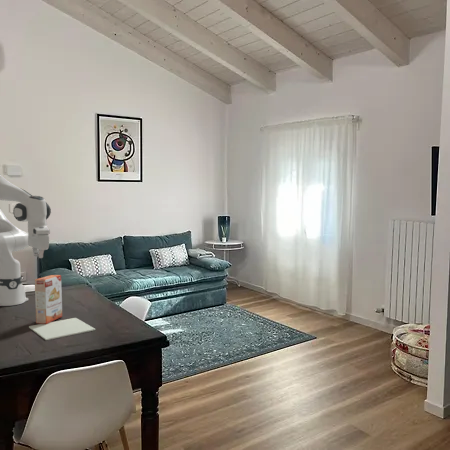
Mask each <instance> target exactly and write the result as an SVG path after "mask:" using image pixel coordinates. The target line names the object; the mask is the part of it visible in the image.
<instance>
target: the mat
mask: <svg viewBox="0 0 450 450" xmlns="http://www.w3.org/2000/svg"><path fill="white" fill-rule="evenodd" d="M28 328H29V329H30V330H31V331H33V332H34V333H35V334H36V335H38V336H39V337H41V338H42V339H43V340H45V341H50V340H51V341H52V340H55V339H59V338H65V337H69V336H74V335H79V334H83V333H88V332H89V333H90V332H93V331H96V328H94V327H93V326H91V325H89V324H88V323H86V322H84V321H83V320H81V319H79V318H77V317H72V318H67V319H61V320H57V321H55V320H54V321H52V322H49V323H47V324H35V325H33V324H32V325H29V326H28Z"/></svg>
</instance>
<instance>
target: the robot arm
mask: <svg viewBox="0 0 450 450" xmlns="http://www.w3.org/2000/svg"><path fill="white" fill-rule="evenodd" d="M0 201H5V202H6V201H7V202H8V201H9V202H18V203H16V204H15V206H14V207H13V211H12V214H13V217H14V218H15V219H16V220H17V221H18V222H22V223H23V222H27V231H24V230H23V229H20V228H19V227H17V226H16V225H15V224H13V222H11V221H10V220H9V219H8V217H6V215H5V213H4V211H3V210H2V208H0V307H9V306H16V305H17V306H18V305H21V304H23V303H26V302H27V301H29V297H26V288H25V285H23V284H22V282H23V278H22V276H21V275H22V273H21V270H22V269H21V262H20V260H18V259H17V258H14V256H13V252H17V251H22V250H25V249H26V248H29V247H31V248H32V249H31V250H32V252H33V256H34V257H38V258H39V259H43V258H44V252H45V251H46V250H48V249H49V247H50V235H49V234H51V230H50V228H49V227H48V222H47V219H49V217H50V216H51V213H52V212H51V207H50V205H49V203H48V202H47V201H46V199H45V198H44V197H43V196H40V195H32V193H30V192H28V191H26V190H24V188H21V187H19V186H18V185H16V184H14V183H13V182H11V181H9V180H8V179H6V177H4V176H3V175H2V174H0Z"/></svg>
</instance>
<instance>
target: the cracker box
mask: <svg viewBox="0 0 450 450" xmlns="http://www.w3.org/2000/svg"><path fill="white" fill-rule="evenodd" d="M62 293H63V292H62V275H61V274H50V275H47V276H43V277H39V278H35V279H34V295H35V297H34V298H35V301H34V302H35V303H34V304H35V324H37V325H39V324H47V323H50V322H55V320H58V319H61V318H62V317H63V297H62V296H63V294H62Z"/></svg>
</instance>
